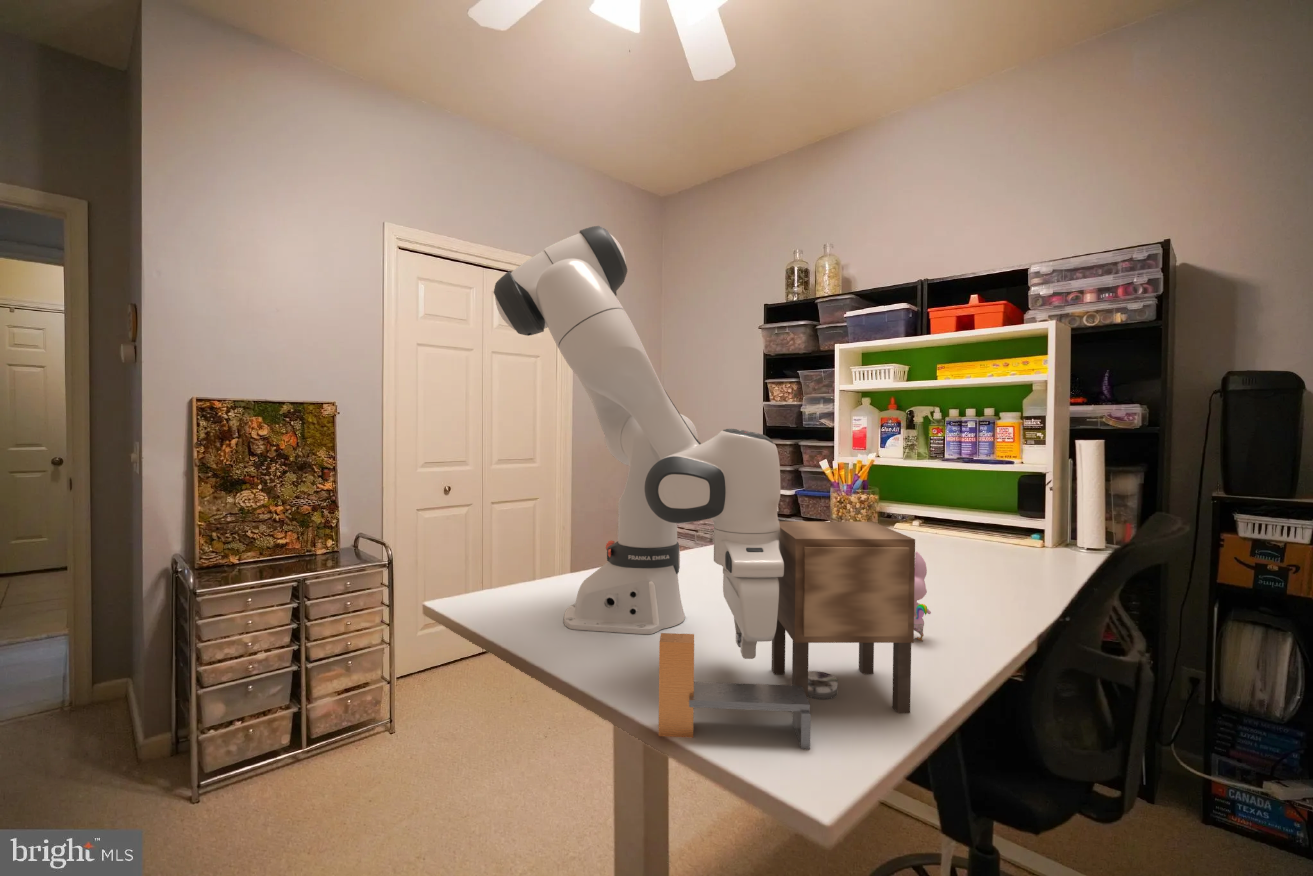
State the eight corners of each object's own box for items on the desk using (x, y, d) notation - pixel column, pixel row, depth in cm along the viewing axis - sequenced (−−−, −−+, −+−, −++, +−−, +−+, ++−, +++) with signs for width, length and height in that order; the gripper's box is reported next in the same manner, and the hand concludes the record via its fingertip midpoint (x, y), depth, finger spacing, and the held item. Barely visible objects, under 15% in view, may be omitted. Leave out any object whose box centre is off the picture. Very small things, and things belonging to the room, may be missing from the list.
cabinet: (795, 716, 75) (797, 539, 74) (769, 669, 89) (771, 521, 89) (914, 716, 75) (917, 540, 75) (870, 669, 90) (872, 521, 89)
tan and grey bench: (657, 743, 68) (658, 646, 68) (660, 717, 74) (661, 628, 74) (810, 749, 67) (811, 651, 67) (800, 723, 73) (801, 633, 73)
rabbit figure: (922, 635, 105) (924, 549, 104) (943, 647, 99) (944, 556, 99) (888, 636, 104) (890, 549, 104) (907, 649, 98) (909, 557, 98)
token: (805, 701, 79) (805, 686, 79) (795, 685, 84) (795, 671, 84) (842, 701, 80) (842, 686, 80) (830, 685, 85) (830, 671, 84)
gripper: (713, 535, 92) (712, 625, 92) (734, 566, 71) (733, 682, 72) (755, 535, 92) (754, 625, 92) (787, 566, 71) (786, 682, 72)
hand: (745, 651), depth 82 cm, fingers open, 3 cm apart
